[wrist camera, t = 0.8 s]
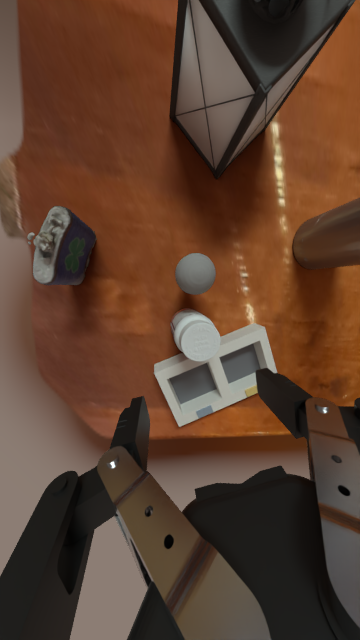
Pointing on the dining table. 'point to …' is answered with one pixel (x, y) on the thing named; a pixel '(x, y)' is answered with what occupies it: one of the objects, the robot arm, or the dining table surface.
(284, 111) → the dining table surface
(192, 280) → the light bulb
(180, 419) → the socket block
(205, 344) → the pill bottle
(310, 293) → the dining table surface
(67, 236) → the flask
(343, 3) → the lantern
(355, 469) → the robot arm
